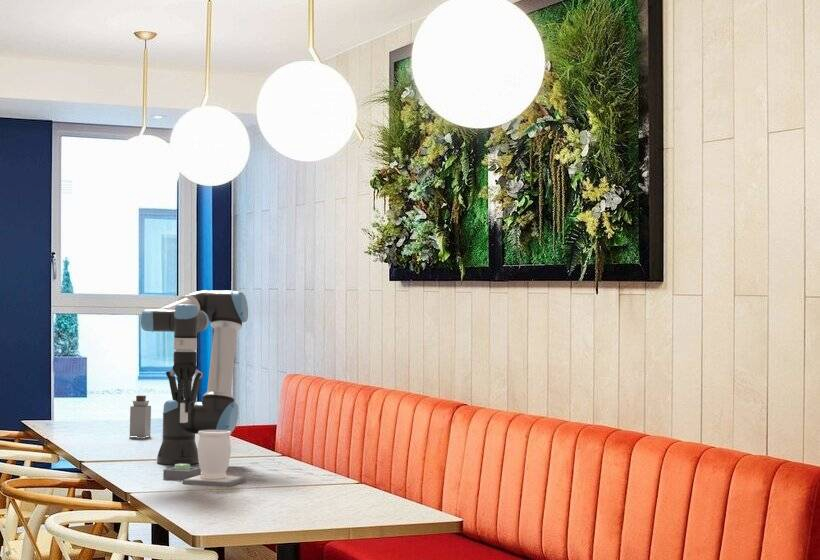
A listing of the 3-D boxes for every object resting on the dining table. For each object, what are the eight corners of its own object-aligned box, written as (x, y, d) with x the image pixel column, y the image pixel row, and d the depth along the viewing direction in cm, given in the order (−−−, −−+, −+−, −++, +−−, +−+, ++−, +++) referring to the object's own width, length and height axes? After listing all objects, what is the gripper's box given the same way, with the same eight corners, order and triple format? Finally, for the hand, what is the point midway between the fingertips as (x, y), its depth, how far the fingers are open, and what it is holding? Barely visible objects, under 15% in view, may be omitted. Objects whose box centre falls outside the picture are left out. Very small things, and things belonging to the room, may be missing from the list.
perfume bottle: (135, 436, 488) (136, 395, 488) (150, 436, 487) (151, 395, 487) (129, 437, 481) (130, 396, 482) (144, 438, 480) (145, 396, 481)
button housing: (163, 479, 364) (163, 469, 364) (176, 475, 373) (176, 466, 373) (188, 480, 362) (188, 471, 362) (200, 476, 370) (201, 467, 371)
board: (182, 483, 355) (182, 479, 355) (200, 478, 367) (200, 473, 367) (228, 486, 350) (228, 482, 350) (245, 481, 363) (245, 476, 363)
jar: (190, 478, 356) (192, 431, 356) (206, 474, 366) (208, 428, 366) (220, 480, 352) (221, 433, 353) (235, 476, 362) (236, 430, 363)
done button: (171, 475, 366) (172, 465, 366) (178, 473, 370) (179, 463, 371) (185, 476, 364) (185, 466, 364) (192, 474, 369) (192, 464, 369)
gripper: (162, 350, 367) (160, 422, 366) (198, 351, 363) (196, 424, 363) (172, 350, 374) (171, 420, 374) (208, 351, 371) (206, 422, 370)
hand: (183, 422), depth 368 cm, fingers closed
